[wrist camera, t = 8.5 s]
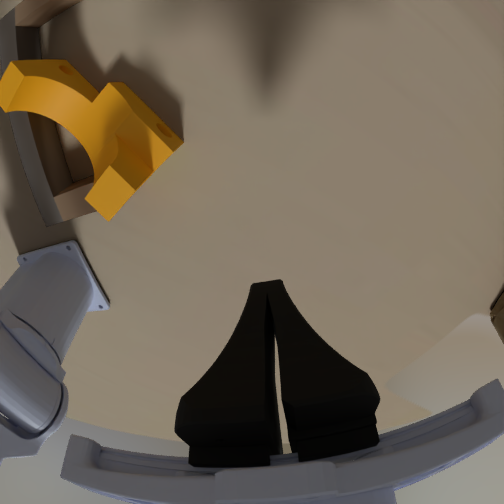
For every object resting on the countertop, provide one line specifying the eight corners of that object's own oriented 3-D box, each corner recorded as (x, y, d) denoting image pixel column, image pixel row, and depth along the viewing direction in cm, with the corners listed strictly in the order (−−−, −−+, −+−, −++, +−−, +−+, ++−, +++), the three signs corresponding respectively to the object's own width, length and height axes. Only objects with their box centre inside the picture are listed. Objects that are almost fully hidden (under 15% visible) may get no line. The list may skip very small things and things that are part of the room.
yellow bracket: (184, 142, 18) (157, 166, 13) (144, 182, 19) (108, 221, 14) (81, 41, 13) (26, 35, 7) (48, 85, 14) (-8, 96, 9)
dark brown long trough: (64, 210, 20) (46, 226, 17) (20, 23, 10) (-2, 21, 8) (131, 189, 19) (116, 205, 17) (86, -21, 10) (66, -30, 7)
